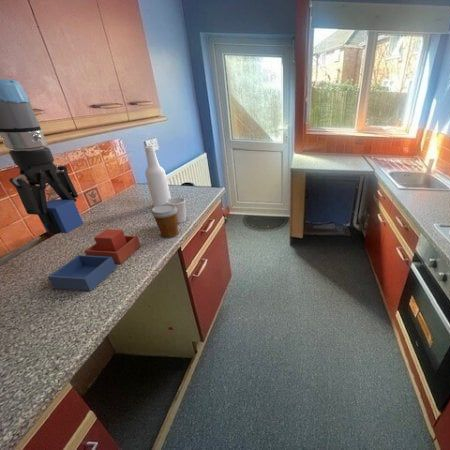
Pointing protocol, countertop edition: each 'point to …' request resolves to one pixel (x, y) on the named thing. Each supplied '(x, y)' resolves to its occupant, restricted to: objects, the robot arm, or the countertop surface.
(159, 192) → the white bottle
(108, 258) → the blue bin
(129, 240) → the red bin
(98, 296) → the countertop surface
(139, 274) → the countertop surface
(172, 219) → the disposable coffee cup
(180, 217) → the dixie cup
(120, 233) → the red block
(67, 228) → the blue block
